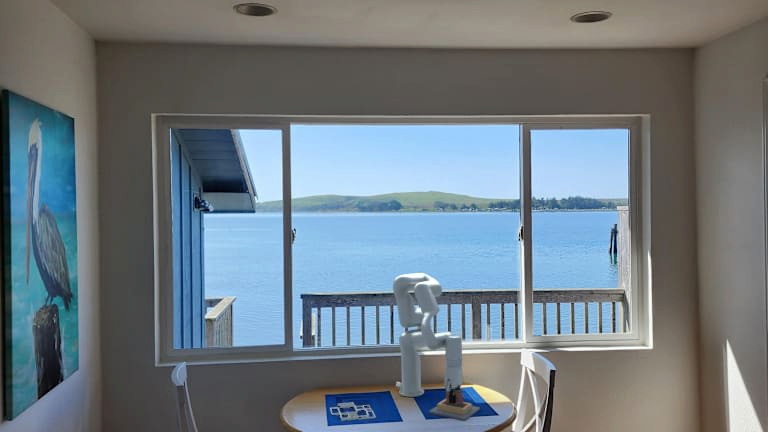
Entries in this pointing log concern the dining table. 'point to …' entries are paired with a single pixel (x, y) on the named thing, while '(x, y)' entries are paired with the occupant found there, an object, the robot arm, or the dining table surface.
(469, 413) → the tan recessed tray
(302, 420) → the dining table surface
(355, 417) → the floor plan model
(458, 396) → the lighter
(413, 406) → the dining table surface
